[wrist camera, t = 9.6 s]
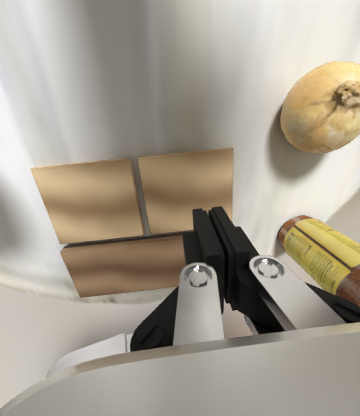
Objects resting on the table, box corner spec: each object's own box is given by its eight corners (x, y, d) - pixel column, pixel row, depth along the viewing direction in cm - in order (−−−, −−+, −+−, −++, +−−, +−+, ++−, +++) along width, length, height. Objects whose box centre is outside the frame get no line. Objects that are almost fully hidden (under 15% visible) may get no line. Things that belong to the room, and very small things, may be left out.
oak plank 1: (37, 166, 22) (30, 168, 21) (130, 157, 22) (128, 158, 21) (65, 239, 26) (60, 244, 25) (144, 230, 26) (143, 235, 25)
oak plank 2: (139, 156, 22) (137, 158, 21) (229, 147, 23) (233, 148, 21) (151, 229, 26) (150, 234, 25) (228, 221, 26) (231, 225, 25)
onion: (354, 79, 20) (442, 59, 14) (319, 154, 23) (377, 166, 17) (286, 63, 19) (347, 33, 13) (260, 143, 22) (297, 152, 16)
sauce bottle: (288, 254, 30) (473, 457, 12) (268, 231, 28) (456, 436, 10) (325, 229, 28) (606, 420, 10) (307, 203, 26) (622, 384, 8)
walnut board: (65, 246, 26) (60, 252, 25) (231, 227, 27) (235, 233, 26) (84, 290, 30) (80, 297, 29) (230, 273, 31) (232, 280, 29)
